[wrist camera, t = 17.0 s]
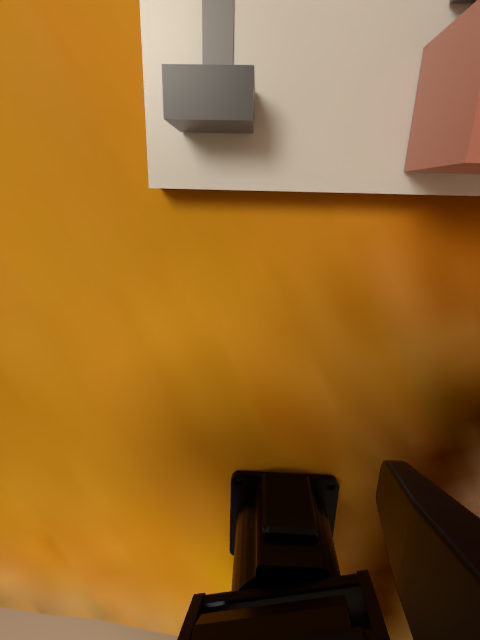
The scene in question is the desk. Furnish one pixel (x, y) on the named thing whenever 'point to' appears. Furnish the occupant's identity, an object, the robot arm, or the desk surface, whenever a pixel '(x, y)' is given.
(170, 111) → the lever
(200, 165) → the panel
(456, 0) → the lever tagged
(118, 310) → the desk surface
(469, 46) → the block
